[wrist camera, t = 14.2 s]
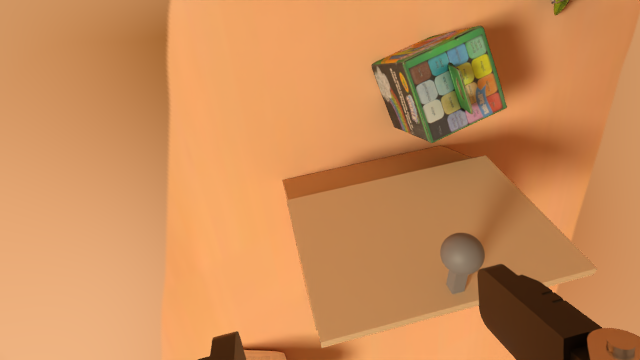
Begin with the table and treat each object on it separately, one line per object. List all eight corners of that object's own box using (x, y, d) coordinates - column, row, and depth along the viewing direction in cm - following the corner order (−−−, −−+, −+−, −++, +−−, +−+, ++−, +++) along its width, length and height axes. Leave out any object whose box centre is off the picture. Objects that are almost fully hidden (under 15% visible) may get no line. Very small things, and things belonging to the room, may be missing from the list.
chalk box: (455, 100, 51) (531, 113, 37) (393, 130, 51) (447, 153, 37) (434, 32, 48) (509, 17, 34) (368, 62, 48) (416, 60, 34)
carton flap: (287, 205, 41) (277, 156, 37) (484, 161, 43) (495, 110, 39) (321, 348, 28) (311, 297, 24) (593, 274, 31) (626, 217, 27)
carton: (282, 180, 50) (289, 205, 41) (441, 145, 53) (482, 162, 43) (305, 285, 55) (316, 330, 46) (449, 249, 57) (488, 284, 48)
